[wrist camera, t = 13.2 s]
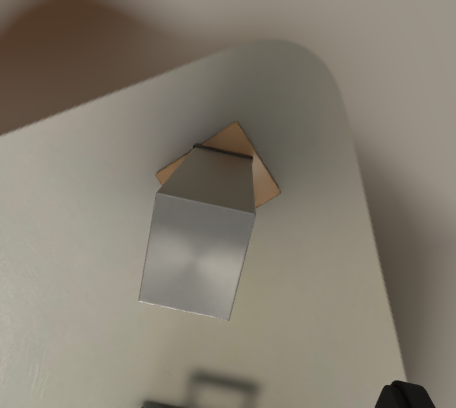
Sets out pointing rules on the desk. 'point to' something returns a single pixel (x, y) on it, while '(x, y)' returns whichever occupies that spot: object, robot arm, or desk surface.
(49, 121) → the desk surface
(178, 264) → the brushed metal pillar
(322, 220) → the desk surface
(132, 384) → the desk surface
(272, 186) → the cork mat
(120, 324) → the desk surface
